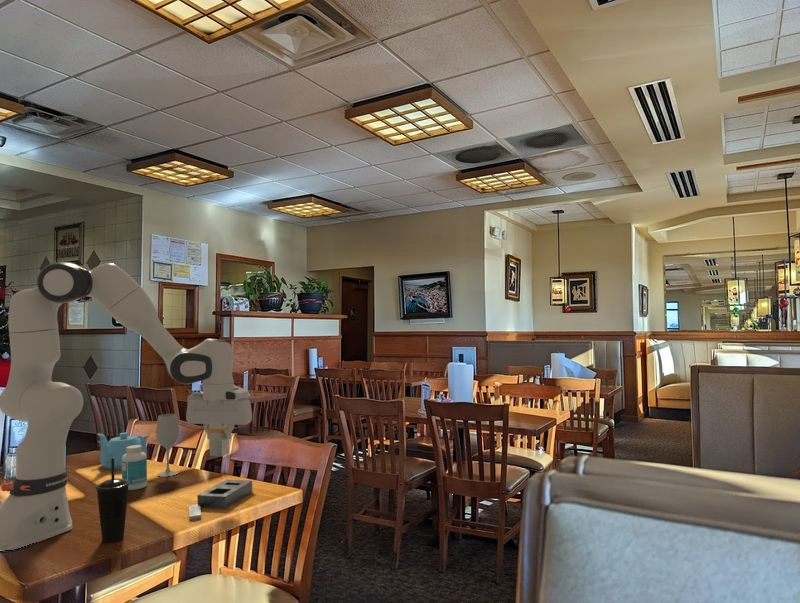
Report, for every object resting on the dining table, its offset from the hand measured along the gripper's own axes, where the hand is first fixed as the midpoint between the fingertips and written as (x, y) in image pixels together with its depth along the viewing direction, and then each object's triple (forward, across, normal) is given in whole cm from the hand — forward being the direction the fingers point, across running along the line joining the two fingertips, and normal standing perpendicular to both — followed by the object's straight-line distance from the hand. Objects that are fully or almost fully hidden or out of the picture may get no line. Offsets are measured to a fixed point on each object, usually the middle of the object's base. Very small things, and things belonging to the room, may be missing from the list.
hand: (219, 438), depth 166 cm
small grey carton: (+5, 0, 0) cm, 5 cm away
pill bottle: (+19, -37, +9) cm, 43 cm away
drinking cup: (+19, -12, -30) cm, 37 cm away
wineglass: (+19, -36, +25) cm, 48 cm away
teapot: (+19, -62, +33) cm, 73 cm away
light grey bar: (+19, -2, -10) cm, 22 cm away
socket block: (+19, 0, +3) cm, 19 cm away
